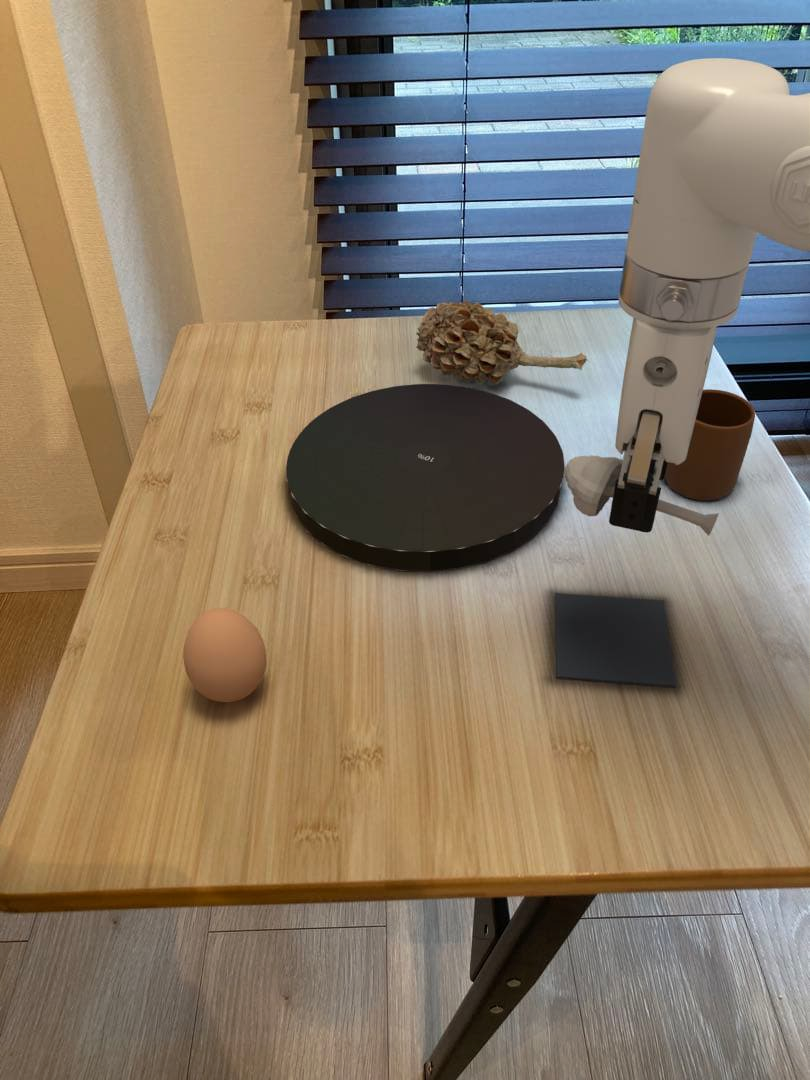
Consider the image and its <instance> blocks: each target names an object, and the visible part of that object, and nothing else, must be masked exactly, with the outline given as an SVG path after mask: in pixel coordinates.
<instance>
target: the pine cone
mask: <svg viewBox="0 0 810 1080" xmlns="http://www.w3.org/2000/svg"><path fill="white" fill-rule="evenodd" d="M421 320H422V321H421V322H420V323H419V327H417V332H415V334H416V335H417V336H418V338H416V340H417V344H416V349H418V351H420V352H423V353H422V360H423V361H424V362H427V363H428V364H431V368H432V369H434V370H436V371H440V372H441V373H442V376H451V377H452V379H453V381H461V380H462V379H464V381H465V382H466V383H469V382H471V381H473V380H475V382H476V384H478V385H481V384H485V383H486V382H487V381H489V382H490V383H491V384H492V385H494V386H496V385H497V386H498V384H500V383H501V381H502V380H503V378H504V376H505V375H506V374H508V373H509V372H511V371H513V370H515V369H517V368H519V366H522V367H539V368H545V369H546V368H555V369H556V368H557V369H575V370H576V369H577V370H579V371H581V372H582V371H583V367H584V365H585V364H586V362H589V363H591V361H589V359H587V355H585V354H583V353H582V352H580V353H578V354H576V355H573V356H566V357H564V356H563V357H561V356H560V357H555V356H554V357H553V356H536V355H528V354H526V351H524V350H523V348H522V347H521V346H520V344H519V343H518V335H519V326H518V324H517V323H515V322H512V321H510V320H508V319H507V317H506V316H505V315H504V314H503V313H502V312H501V313H497V314H496V313H495V311H494V310H493V309H492V308H491V307H488V308H484V306H483V305H482V304H481V303H480V302H479V301H478V302H476V303H472V302H471V301H470V300H463V301H462V302H459V303H457V302H456V301H449V303H448V302H447V303H446V302H444V301H442V302H439V303H437V304H436V308H435V306H433V307H429V308H428V310H427V311H426V312H425V313H424V316H423V317H422V319H421Z"/></svg>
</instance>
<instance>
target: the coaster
mask: <svg viewBox="0 0 810 1080" xmlns="http://www.w3.org/2000/svg"><path fill="white" fill-rule="evenodd" d="M554 617H555V618H554V620H555V621H554V623H555V667H556V669H555V676H556V677H555V678H556V679H559V680H560V679H561V680H571V681H572V680H573V681H586V682H598V683H609V684H624V685H638V686H651V687H663V688H677V679H676V673H675V667H674V660H673V652H672V646H671V640H670V632H669V627H668V620H667V614H666V606H665V600H664V599H649V598H636V597H623V596H622V597H621V596H605V595H590V594H576V593H574V594H573V593H562V592H561V593H560V592H555V593H554Z"/></svg>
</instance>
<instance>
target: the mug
mask: <svg viewBox="0 0 810 1080" xmlns="http://www.w3.org/2000/svg"><path fill="white" fill-rule="evenodd" d="M755 419H756V411H755V408H754V407H753V405H752V404H751V402H749V401H748V400H747V399H746V398H744V397H742V396H740V395H738V394H735V393H733V392H729V391H726V390H721V389H711V388H710V389H703V392H702V396H701V399H700V404H699V408H698V412H697V416H696V420H695V424H694V428H693V432H692V436H691V440H690V444H689V448H688V452H687V456H686V459H685V461H684V462H682V463H681V464H679V465H675V463H670V462H668V464H667V469H666V473H665V477H664V479H665V481H666V483H667V485H668V487H670V488H671V489H672V490H673V491H675V492H676V493H678V494H680V495H681V496H683V497H686V498H689V499H692V500H696V501H697V500H698V501H713V500H719V499H722V498H724V497H726V496H727V495H729V494H730V493H731V492H732V491H733V490H734V488H735V487H736V484H737V481H738V479H739V476H740V473H741V468H742V465H743V462H744V460H745V457H746V453H747V450H748V446H749V443H750V440H751V438H752V433H753V429H754V424H755Z"/></svg>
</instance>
